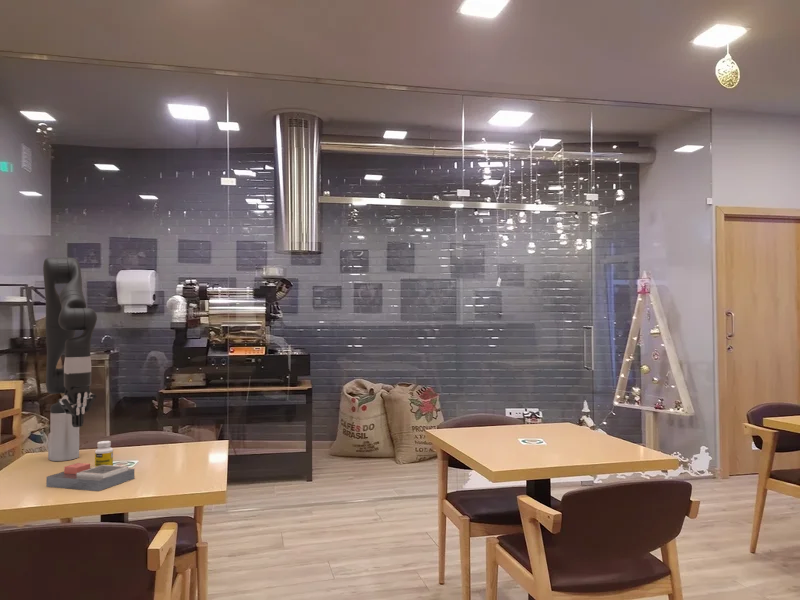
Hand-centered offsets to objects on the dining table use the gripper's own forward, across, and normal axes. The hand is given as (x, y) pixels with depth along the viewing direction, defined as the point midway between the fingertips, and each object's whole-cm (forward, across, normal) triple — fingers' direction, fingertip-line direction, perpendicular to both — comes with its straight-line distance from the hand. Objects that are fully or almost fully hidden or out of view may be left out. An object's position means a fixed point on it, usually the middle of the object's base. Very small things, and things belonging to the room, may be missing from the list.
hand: (77, 426), depth 179 cm
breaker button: (+16, 0, 0) cm, 16 cm away
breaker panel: (+17, 0, +6) cm, 18 cm away
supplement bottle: (+17, -12, -2) cm, 21 cm away
